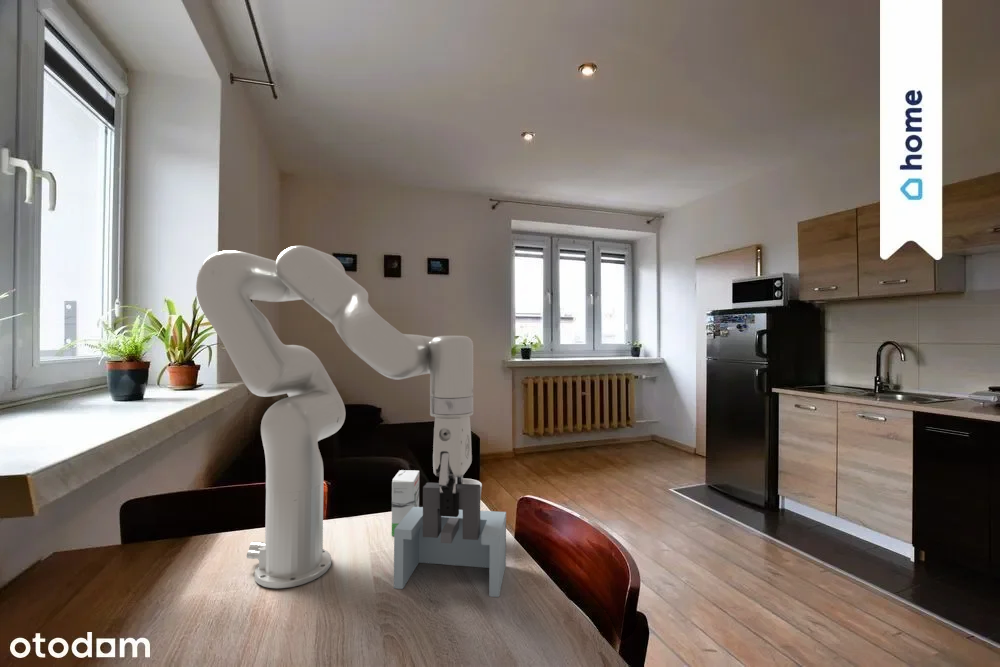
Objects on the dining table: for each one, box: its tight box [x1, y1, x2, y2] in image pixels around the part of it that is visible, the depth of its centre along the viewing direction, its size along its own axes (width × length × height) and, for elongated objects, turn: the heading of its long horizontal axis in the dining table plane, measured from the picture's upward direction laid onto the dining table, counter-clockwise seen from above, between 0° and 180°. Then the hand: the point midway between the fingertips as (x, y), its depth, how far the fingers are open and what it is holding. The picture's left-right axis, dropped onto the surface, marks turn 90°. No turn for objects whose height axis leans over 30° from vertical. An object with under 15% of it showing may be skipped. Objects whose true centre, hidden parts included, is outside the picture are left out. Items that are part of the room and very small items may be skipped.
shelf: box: [393, 506, 507, 598], centre depth 78 cm, size 18×10×10 cm, turn 83°
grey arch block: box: [422, 482, 481, 540], centre depth 76 cm, size 10×3×8 cm, turn 83°
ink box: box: [391, 469, 420, 537], centre depth 97 cm, size 9×5×12 cm, turn 2°
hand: (451, 511), depth 76 cm, fingers closed on grey arch block, 2 cm apart
